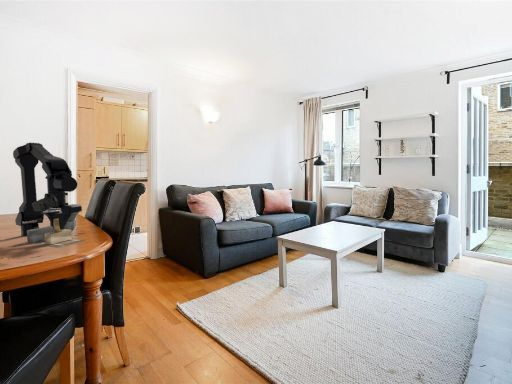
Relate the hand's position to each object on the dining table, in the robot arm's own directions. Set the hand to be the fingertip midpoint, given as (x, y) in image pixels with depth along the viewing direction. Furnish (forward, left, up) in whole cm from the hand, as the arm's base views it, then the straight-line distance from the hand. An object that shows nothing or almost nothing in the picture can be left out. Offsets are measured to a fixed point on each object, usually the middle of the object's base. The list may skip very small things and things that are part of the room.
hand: (58, 229), depth 113 cm
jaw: (0, 0, -5) cm, 5 cm away
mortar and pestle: (-13, +14, -7) cm, 20 cm away
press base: (-2, 0, -7) cm, 7 cm away
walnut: (-5, 0, -5) cm, 8 cm away
